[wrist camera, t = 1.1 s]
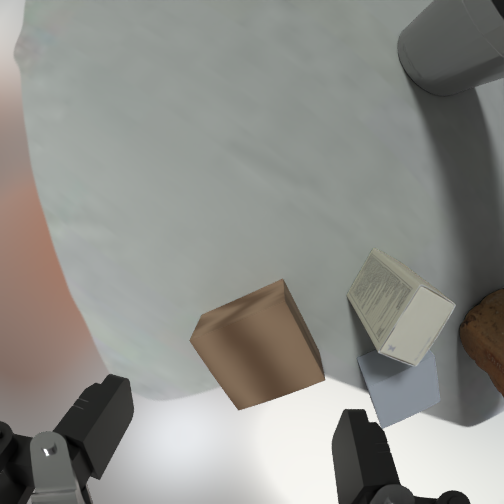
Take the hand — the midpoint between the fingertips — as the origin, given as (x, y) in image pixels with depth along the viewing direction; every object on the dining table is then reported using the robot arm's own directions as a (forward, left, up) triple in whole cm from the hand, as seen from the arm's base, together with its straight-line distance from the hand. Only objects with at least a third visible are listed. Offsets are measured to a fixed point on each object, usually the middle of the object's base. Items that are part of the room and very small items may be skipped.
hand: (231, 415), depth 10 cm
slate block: (-9, +21, -23) cm, 32 cm away
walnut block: (+4, +9, -23) cm, 25 cm away
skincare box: (-10, +8, -23) cm, 27 cm away
